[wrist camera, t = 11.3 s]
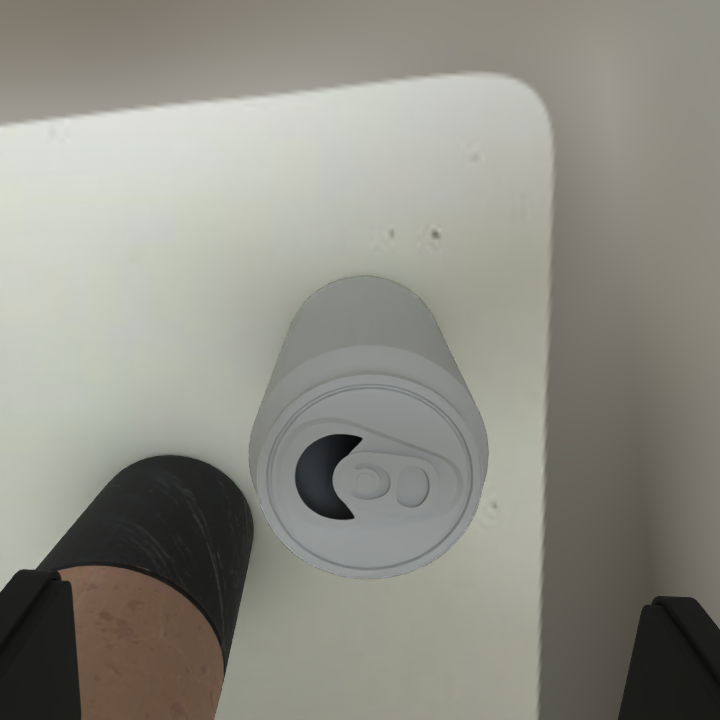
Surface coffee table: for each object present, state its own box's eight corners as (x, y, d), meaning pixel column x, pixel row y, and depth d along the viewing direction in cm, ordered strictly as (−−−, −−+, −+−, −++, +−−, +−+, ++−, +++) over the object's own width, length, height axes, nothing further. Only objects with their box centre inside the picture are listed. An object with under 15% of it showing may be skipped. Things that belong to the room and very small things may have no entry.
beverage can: (292, 265, 27) (243, 349, 15) (450, 280, 27) (518, 374, 16) (282, 412, 29) (233, 584, 17) (430, 425, 29) (478, 604, 18)
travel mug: (213, 422, 29) (-67, 951, 10) (287, 563, 31) (175, 1225, 12) (59, 484, 30) (-476, 1082, 11) (142, 618, 32) (-182, 1316, 13)
